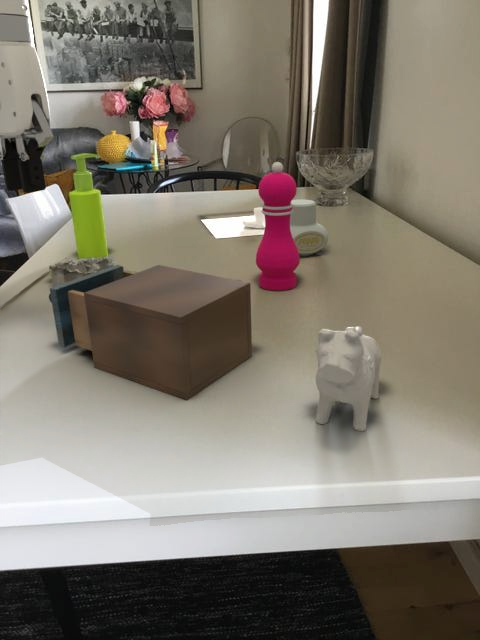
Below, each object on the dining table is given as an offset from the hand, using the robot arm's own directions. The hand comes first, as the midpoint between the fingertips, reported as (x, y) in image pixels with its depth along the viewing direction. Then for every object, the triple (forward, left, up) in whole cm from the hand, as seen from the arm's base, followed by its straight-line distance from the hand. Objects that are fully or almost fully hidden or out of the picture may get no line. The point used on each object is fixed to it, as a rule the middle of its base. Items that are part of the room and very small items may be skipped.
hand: (26, 189), depth 75 cm
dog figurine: (+41, -23, -19) cm, 51 cm away
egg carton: (-1, +19, -19) cm, 27 cm away
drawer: (+12, -7, -18) cm, 23 cm away
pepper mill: (+33, +17, -19) cm, 42 cm away
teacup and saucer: (+25, +61, -19) cm, 69 cm away
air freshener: (+37, +37, -19) cm, 56 cm away
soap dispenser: (-4, +34, -19) cm, 39 cm away
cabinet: (+21, -12, -19) cm, 31 cm away
